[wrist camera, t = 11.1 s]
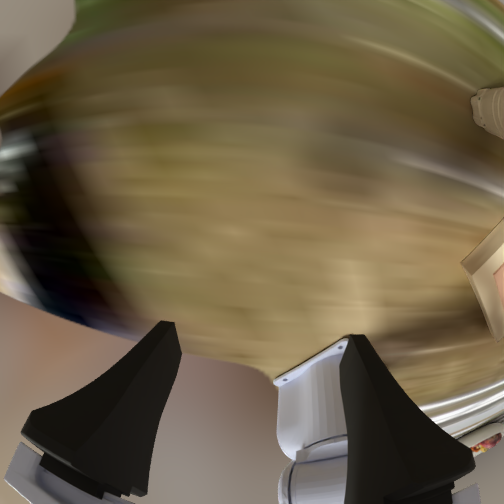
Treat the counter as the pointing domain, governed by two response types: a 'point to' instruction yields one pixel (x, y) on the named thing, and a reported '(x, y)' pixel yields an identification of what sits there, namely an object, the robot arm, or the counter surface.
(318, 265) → the counter surface
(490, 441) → the bowl
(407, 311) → the counter surface
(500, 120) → the handle
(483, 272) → the stand
